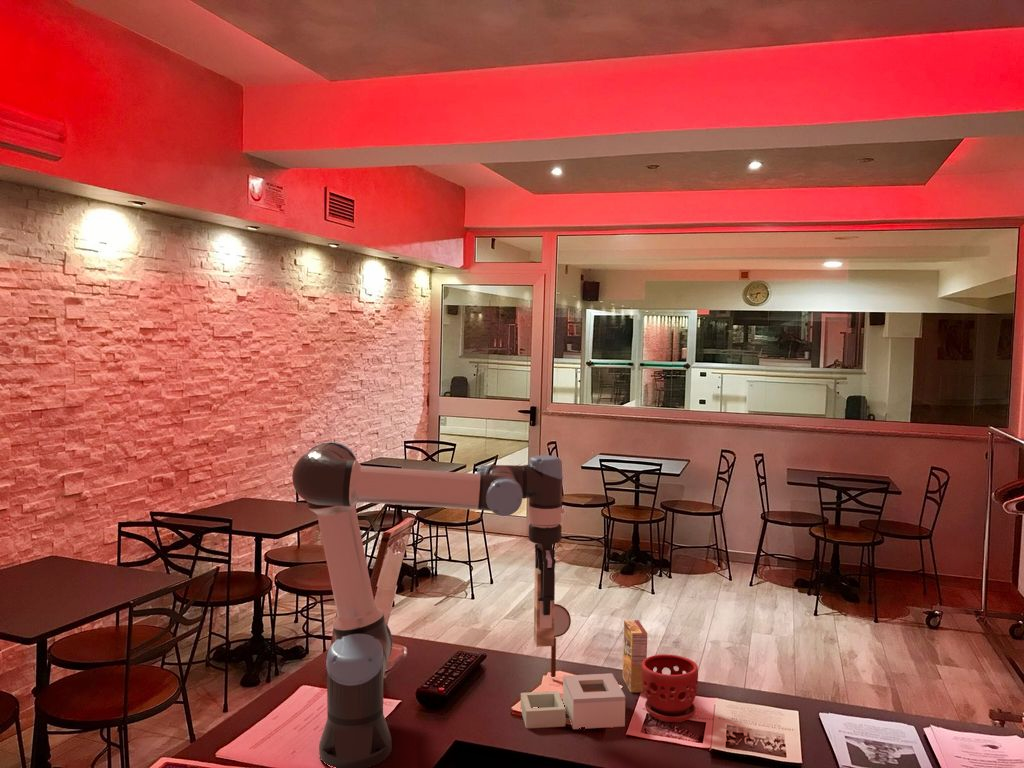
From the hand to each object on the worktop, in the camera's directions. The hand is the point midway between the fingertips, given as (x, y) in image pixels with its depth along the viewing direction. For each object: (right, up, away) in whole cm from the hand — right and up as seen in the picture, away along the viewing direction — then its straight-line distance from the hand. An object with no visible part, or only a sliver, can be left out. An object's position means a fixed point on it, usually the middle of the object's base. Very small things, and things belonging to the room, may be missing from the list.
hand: (543, 623), depth 180 cm
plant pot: (+30, -23, +5) cm, 38 cm away
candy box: (+24, -22, +19) cm, 37 cm away
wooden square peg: (0, -5, 0) cm, 5 cm away
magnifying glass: (+3, -21, +21) cm, 30 cm away
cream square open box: (0, -22, +2) cm, 22 cm away
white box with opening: (+12, -22, +3) cm, 25 cm away
